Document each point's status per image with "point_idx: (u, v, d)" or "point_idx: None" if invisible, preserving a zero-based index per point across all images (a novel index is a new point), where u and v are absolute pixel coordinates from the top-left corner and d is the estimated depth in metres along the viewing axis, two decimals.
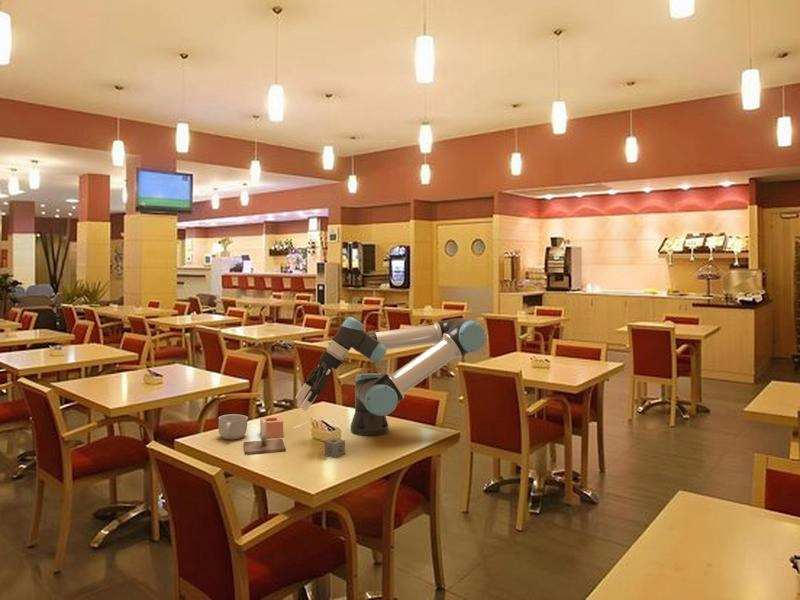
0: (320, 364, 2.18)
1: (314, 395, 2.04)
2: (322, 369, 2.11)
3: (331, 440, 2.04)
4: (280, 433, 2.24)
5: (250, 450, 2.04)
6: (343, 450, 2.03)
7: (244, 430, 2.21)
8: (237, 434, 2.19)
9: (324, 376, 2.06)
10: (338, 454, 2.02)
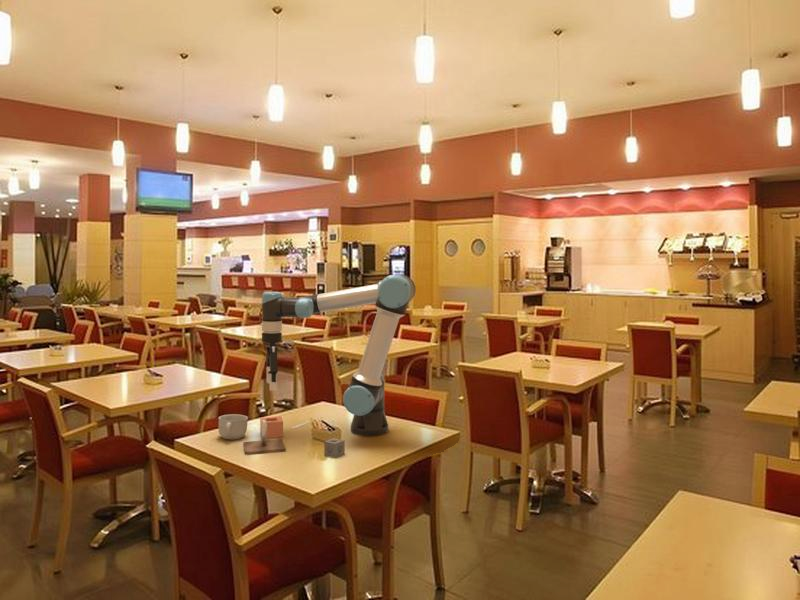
0: (268, 344, 2.30)
1: (274, 374, 2.17)
2: None
3: (331, 440, 2.04)
4: (280, 433, 2.24)
5: (250, 450, 2.04)
6: (343, 450, 2.03)
7: (244, 430, 2.21)
8: (237, 434, 2.19)
9: (272, 354, 2.17)
10: (338, 454, 2.01)
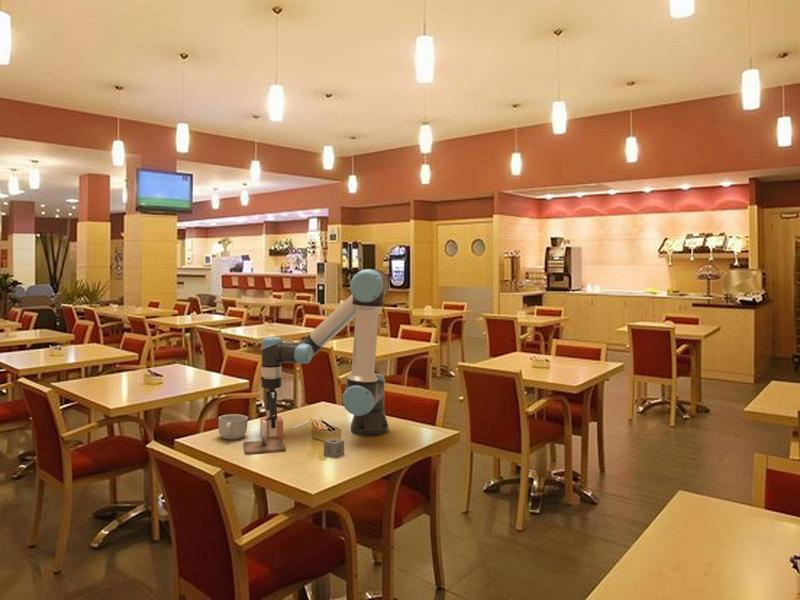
0: (268, 388, 2.31)
1: (273, 421, 2.19)
2: (269, 394, 2.23)
3: (330, 440, 2.04)
4: (280, 433, 2.24)
5: (250, 450, 2.04)
6: (342, 450, 2.03)
7: (244, 430, 2.21)
8: (237, 434, 2.19)
9: (272, 401, 2.19)
10: (337, 454, 2.01)
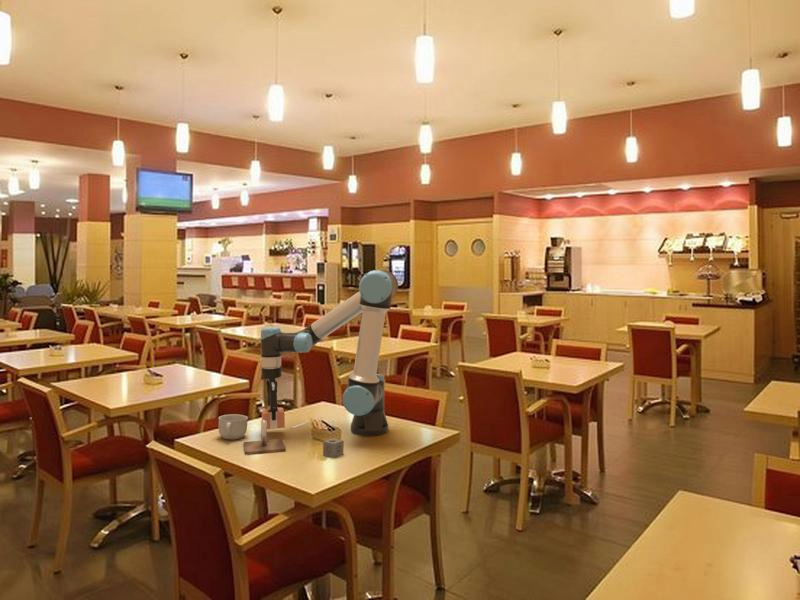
0: (268, 381, 2.31)
1: (274, 413, 2.21)
2: None
3: (329, 440, 2.04)
4: (281, 424, 2.24)
5: (250, 450, 2.04)
6: (341, 450, 2.03)
7: (244, 430, 2.21)
8: (237, 434, 2.19)
9: (272, 393, 2.19)
10: (337, 454, 2.01)
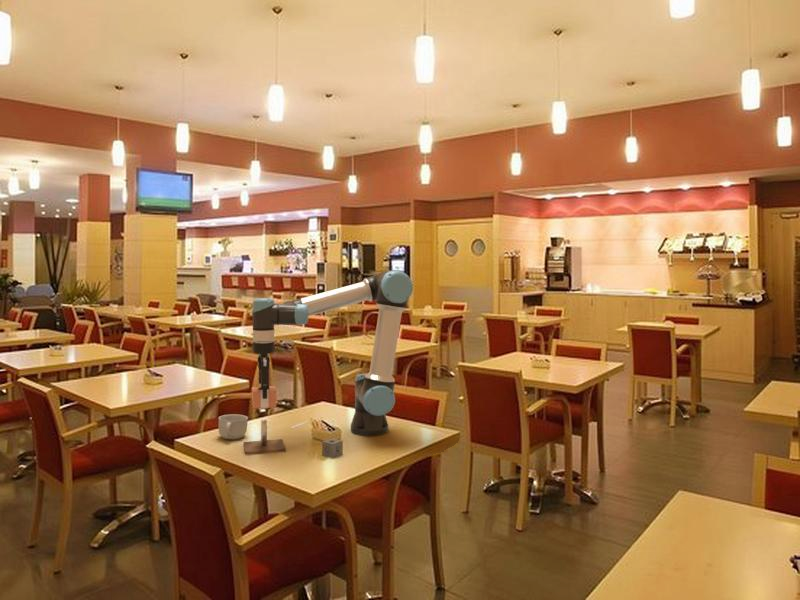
0: (260, 357, 2.14)
1: (265, 391, 2.04)
2: (260, 361, 2.06)
3: (329, 440, 2.04)
4: (273, 403, 2.06)
5: (250, 450, 2.04)
6: (341, 450, 2.03)
7: (244, 430, 2.21)
8: (237, 434, 2.19)
9: (263, 369, 2.02)
10: (336, 454, 2.01)
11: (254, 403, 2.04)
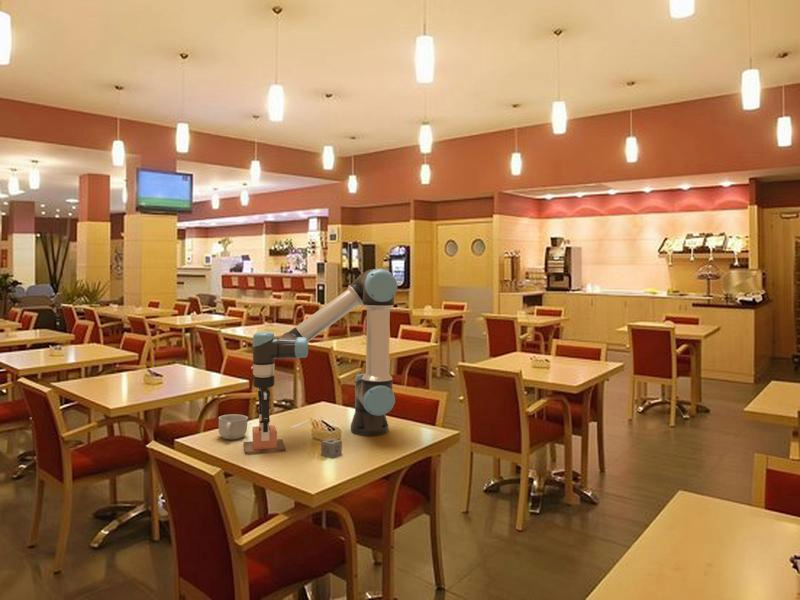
0: (260, 389, 2.14)
1: (266, 424, 2.03)
2: (261, 394, 2.07)
3: (328, 440, 2.04)
4: (273, 443, 2.07)
5: (250, 450, 2.04)
6: (340, 450, 2.03)
7: (244, 430, 2.21)
8: (237, 434, 2.19)
9: (264, 402, 2.02)
10: (335, 454, 2.01)
11: (255, 444, 2.05)
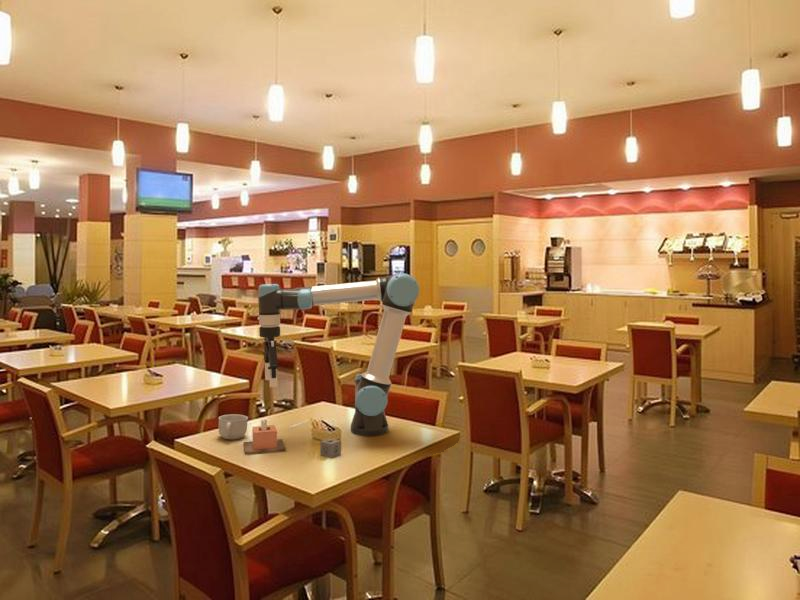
0: (266, 339, 2.20)
1: (274, 370, 2.07)
2: (267, 344, 2.12)
3: (327, 440, 2.03)
4: (273, 443, 2.07)
5: (250, 450, 2.04)
6: (339, 450, 2.03)
7: (244, 430, 2.21)
8: (237, 434, 2.19)
9: (271, 349, 2.08)
10: (334, 454, 2.01)
11: (255, 444, 2.05)
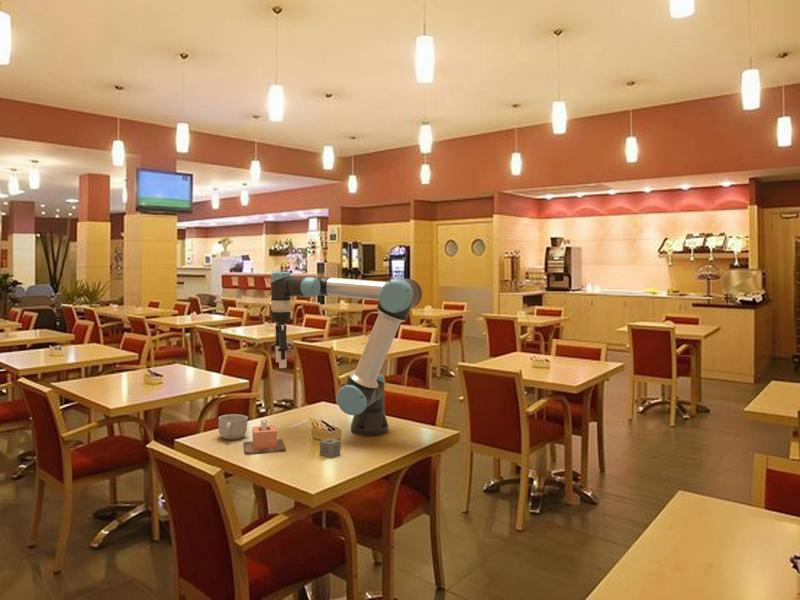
0: (277, 324, 2.33)
1: (283, 352, 2.21)
2: (278, 328, 2.26)
3: (326, 440, 2.03)
4: (273, 443, 2.07)
5: (250, 450, 2.04)
6: (338, 450, 2.03)
7: (244, 430, 2.21)
8: (237, 434, 2.19)
9: (281, 333, 2.21)
10: (334, 454, 2.01)
11: (255, 444, 2.05)
